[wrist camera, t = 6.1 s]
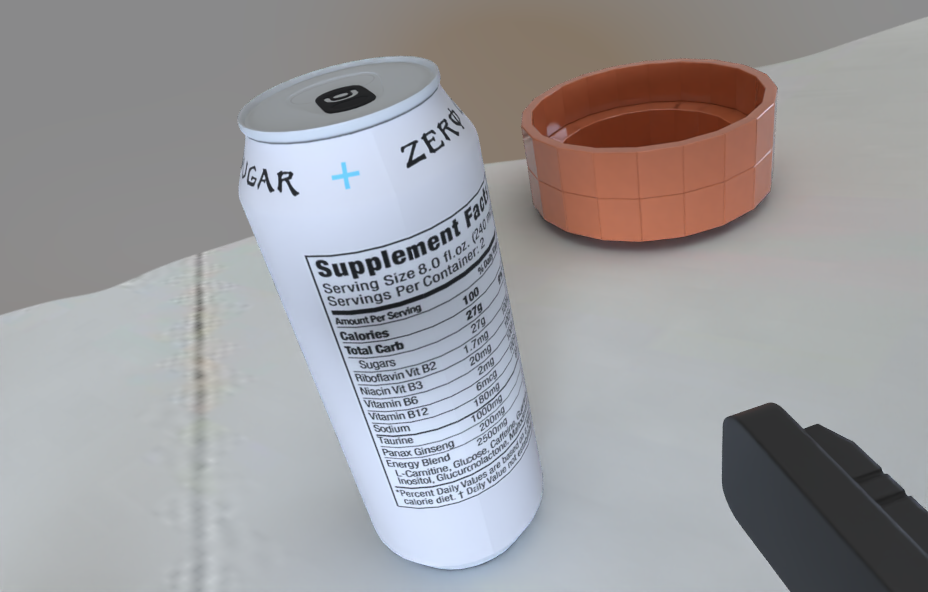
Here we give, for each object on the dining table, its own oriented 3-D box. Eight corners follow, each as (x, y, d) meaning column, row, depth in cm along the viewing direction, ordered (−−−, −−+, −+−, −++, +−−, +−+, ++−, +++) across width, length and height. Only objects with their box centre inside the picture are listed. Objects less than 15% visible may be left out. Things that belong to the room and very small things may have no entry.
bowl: (740, 131, 45) (743, 44, 42) (803, 233, 34) (811, 127, 31) (535, 160, 48) (523, 80, 45) (534, 265, 37) (518, 168, 34)
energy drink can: (499, 421, 28) (411, 35, 20) (580, 530, 23) (509, 77, 15) (357, 487, 26) (198, 100, 18) (412, 618, 22) (229, 171, 13)
